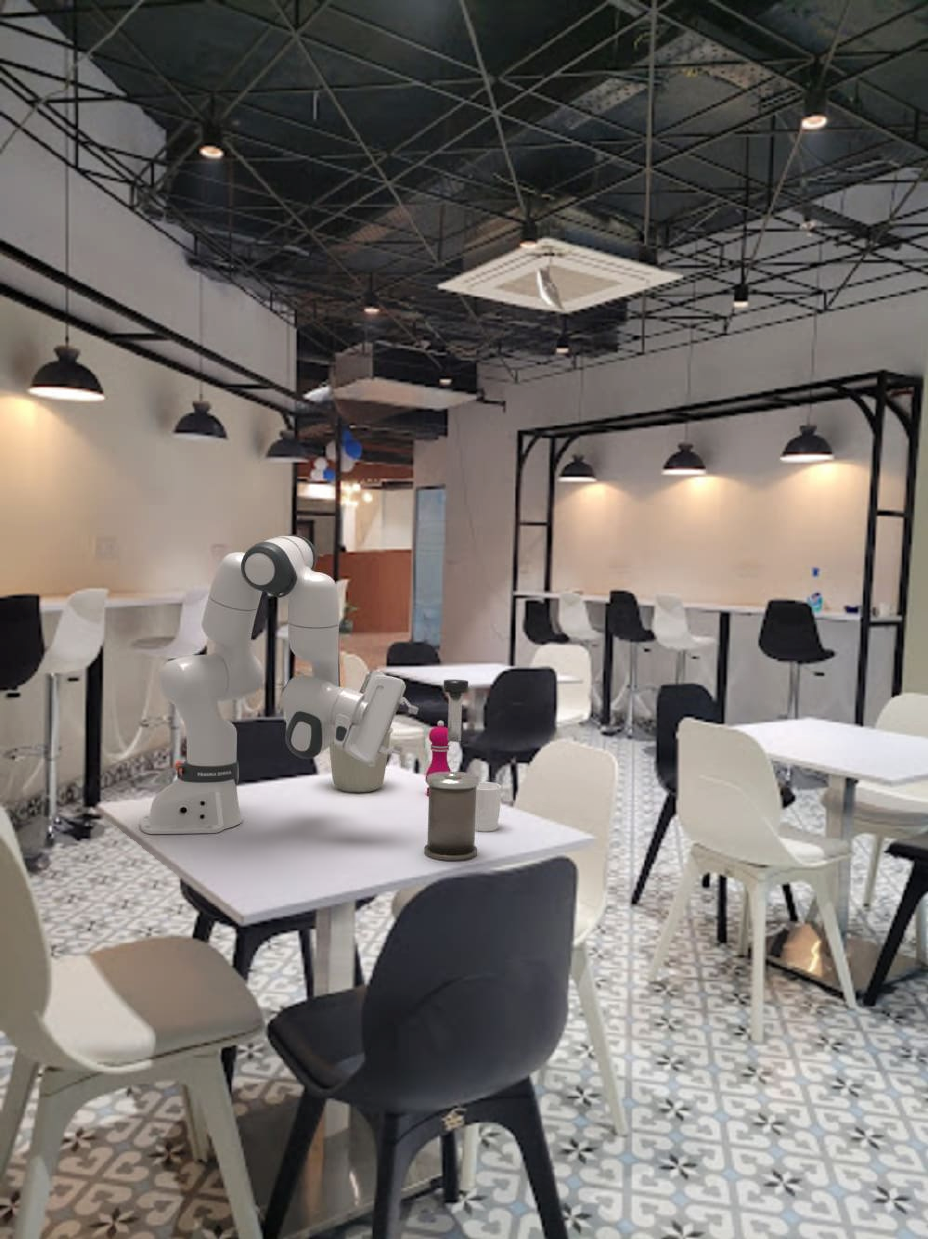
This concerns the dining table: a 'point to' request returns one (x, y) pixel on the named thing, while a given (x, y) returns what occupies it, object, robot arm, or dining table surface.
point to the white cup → (487, 806)
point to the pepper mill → (438, 750)
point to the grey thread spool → (451, 816)
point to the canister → (357, 770)
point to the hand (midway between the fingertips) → (409, 731)
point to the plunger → (455, 707)
